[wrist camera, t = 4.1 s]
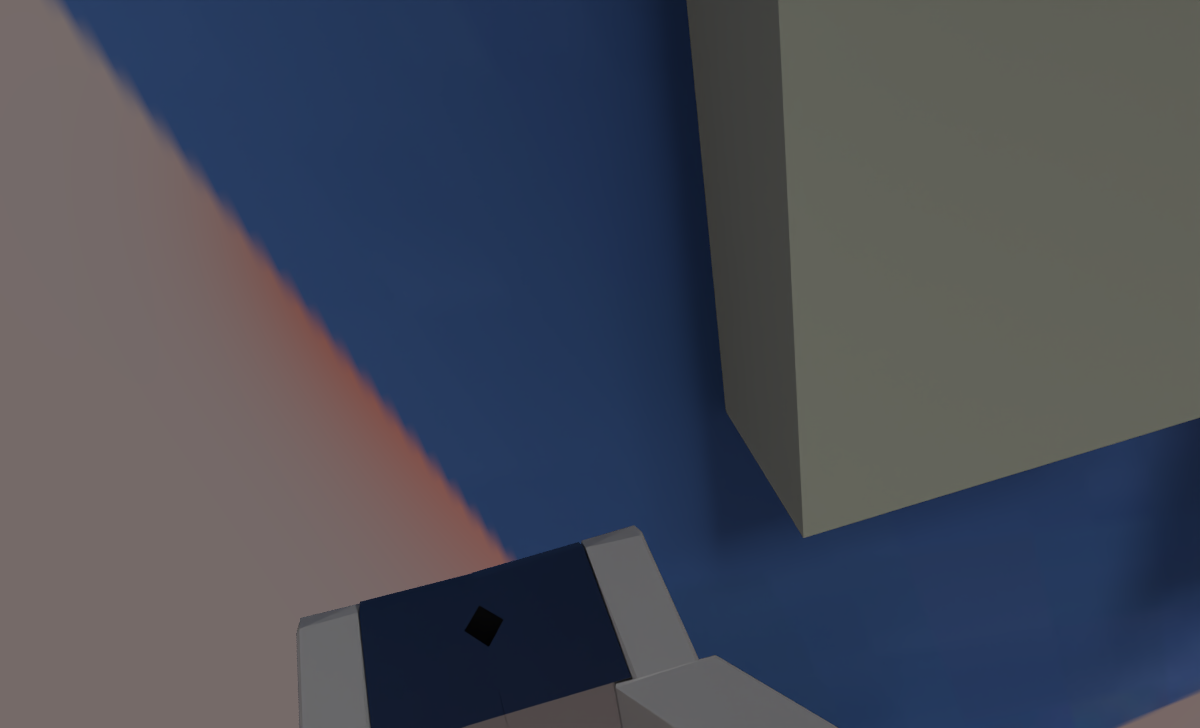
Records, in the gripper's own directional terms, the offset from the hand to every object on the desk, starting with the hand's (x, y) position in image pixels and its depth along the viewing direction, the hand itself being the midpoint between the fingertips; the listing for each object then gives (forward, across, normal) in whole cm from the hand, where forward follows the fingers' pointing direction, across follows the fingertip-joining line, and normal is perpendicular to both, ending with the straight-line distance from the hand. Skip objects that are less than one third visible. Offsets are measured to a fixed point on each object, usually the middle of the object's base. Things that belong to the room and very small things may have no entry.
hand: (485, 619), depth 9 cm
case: (+9, -10, -1) cm, 13 cm away
